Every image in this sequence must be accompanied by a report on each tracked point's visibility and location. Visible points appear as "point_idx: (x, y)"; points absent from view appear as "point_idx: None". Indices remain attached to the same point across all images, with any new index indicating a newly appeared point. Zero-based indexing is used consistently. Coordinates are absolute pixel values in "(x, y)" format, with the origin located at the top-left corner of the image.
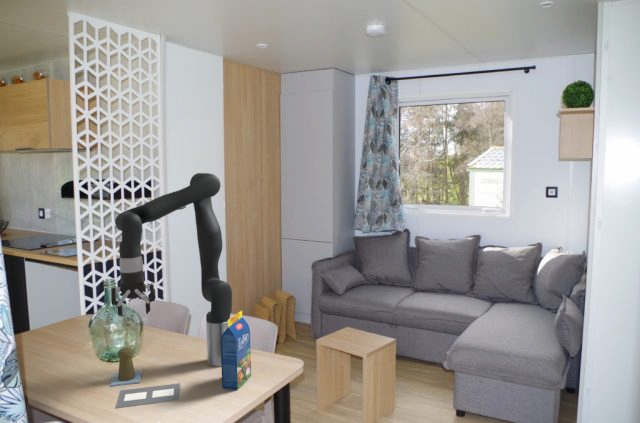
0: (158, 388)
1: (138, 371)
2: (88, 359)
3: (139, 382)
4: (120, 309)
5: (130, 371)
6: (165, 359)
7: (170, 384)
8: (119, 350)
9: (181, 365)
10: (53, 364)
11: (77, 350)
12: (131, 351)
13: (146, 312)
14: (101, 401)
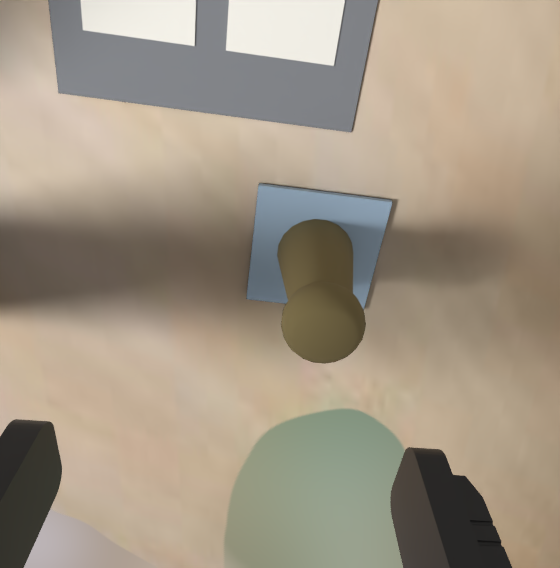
0: (167, 72)
1: (262, 296)
2: None
3: (260, 184)
4: (470, 558)
5: (299, 245)
6: (152, 374)
7: (107, 97)
8: (357, 335)
9: (77, 296)
10: (551, 465)
11: None
12: (289, 313)
13: (29, 433)
14: (454, 35)
